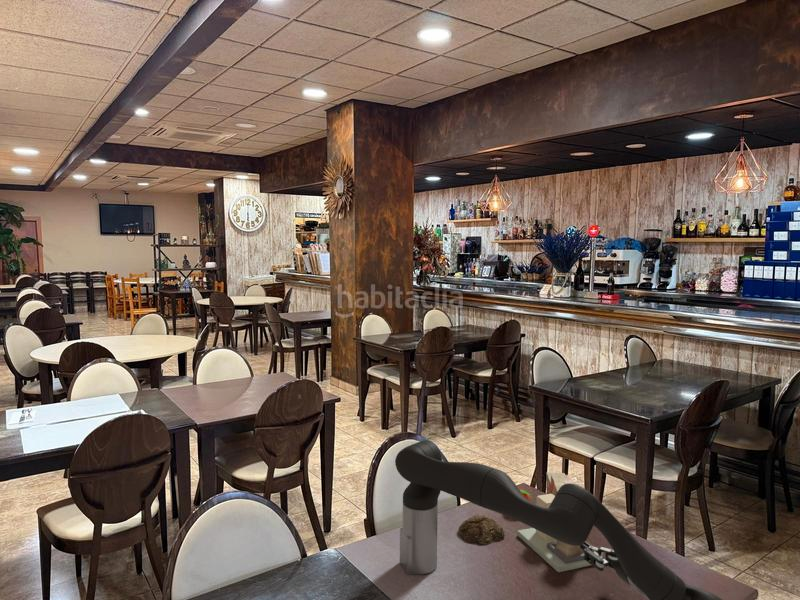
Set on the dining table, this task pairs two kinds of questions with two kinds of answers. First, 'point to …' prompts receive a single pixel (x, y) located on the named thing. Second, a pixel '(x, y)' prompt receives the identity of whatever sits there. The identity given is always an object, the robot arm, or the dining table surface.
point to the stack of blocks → (556, 482)
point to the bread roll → (481, 530)
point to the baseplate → (550, 544)
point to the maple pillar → (568, 549)
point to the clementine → (525, 494)
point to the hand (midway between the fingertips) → (595, 539)
